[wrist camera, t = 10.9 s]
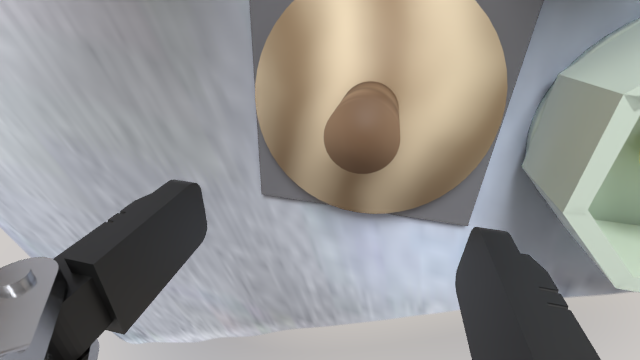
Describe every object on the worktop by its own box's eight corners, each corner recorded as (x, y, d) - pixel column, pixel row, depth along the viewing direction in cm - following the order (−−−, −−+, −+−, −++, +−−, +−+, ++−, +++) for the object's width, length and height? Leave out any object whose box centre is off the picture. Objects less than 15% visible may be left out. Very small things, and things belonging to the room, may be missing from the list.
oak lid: (266, 191, 27) (228, 240, 21) (254, -36, 19) (187, -65, 13) (463, 220, 24) (486, 287, 18) (543, -34, 16) (635, -70, 10)
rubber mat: (264, 191, 28) (261, 194, 28) (250, -45, 20) (246, -46, 19) (465, 221, 25) (467, 225, 25) (553, -43, 17) (558, -45, 16)
